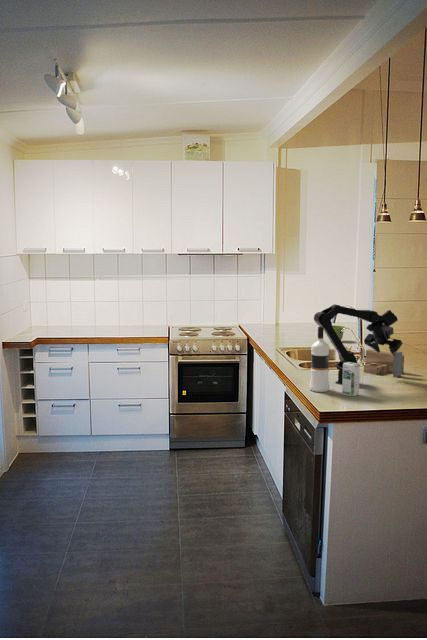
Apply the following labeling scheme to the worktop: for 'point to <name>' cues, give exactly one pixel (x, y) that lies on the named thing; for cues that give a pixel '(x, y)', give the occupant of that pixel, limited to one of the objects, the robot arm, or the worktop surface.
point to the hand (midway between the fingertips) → (387, 353)
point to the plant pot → (338, 331)
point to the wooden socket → (379, 362)
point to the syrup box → (350, 379)
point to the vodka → (319, 364)
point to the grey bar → (397, 364)
